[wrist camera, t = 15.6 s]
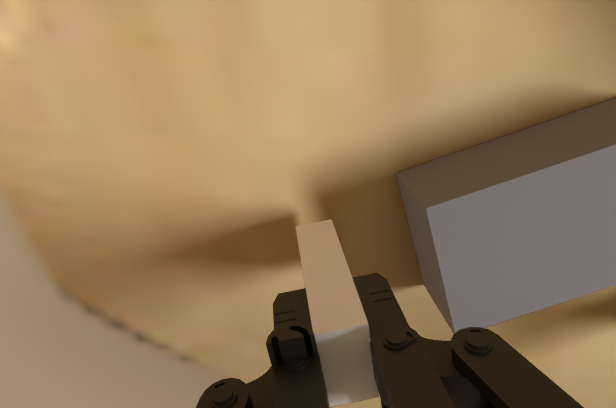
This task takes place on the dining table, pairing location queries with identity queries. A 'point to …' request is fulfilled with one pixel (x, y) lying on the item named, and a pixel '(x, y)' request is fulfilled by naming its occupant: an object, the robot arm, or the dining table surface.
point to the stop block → (517, 219)
